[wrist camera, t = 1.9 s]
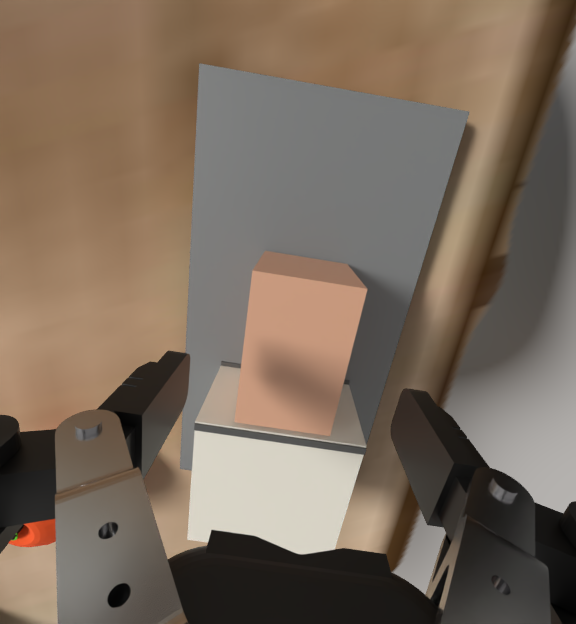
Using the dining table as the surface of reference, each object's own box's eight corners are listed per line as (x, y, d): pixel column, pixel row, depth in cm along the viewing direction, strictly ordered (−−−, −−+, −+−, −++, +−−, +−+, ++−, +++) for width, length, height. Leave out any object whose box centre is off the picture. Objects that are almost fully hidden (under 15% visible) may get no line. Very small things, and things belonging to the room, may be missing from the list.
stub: (265, 250, 18) (252, 270, 13) (347, 263, 18) (367, 288, 13) (249, 366, 21) (234, 422, 16) (321, 377, 21) (330, 436, 16)
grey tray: (205, 72, 17) (144, -15, 10) (458, 117, 17) (563, 63, 10) (185, 457, 26) (146, 546, 19) (349, 480, 26) (367, 576, 19)
